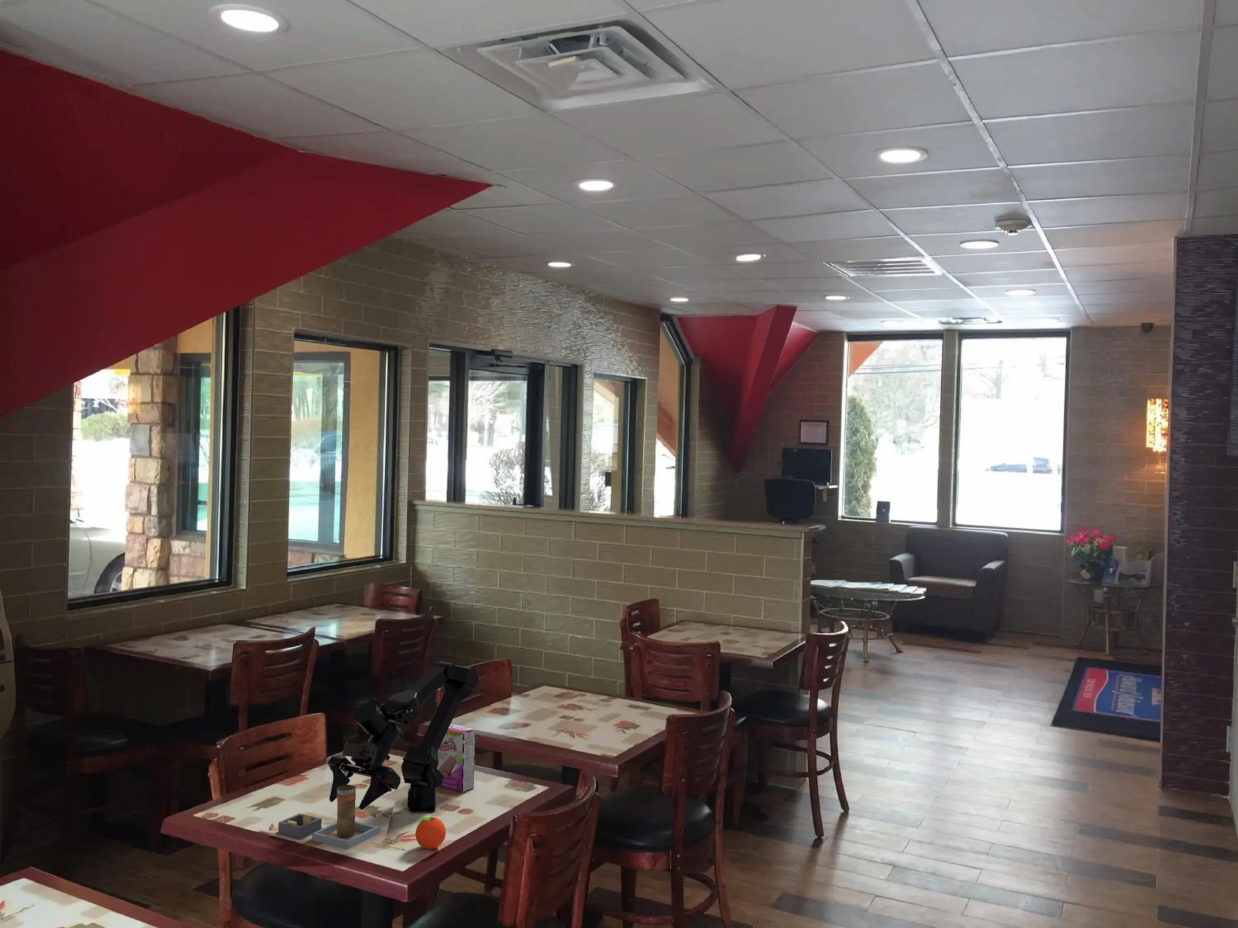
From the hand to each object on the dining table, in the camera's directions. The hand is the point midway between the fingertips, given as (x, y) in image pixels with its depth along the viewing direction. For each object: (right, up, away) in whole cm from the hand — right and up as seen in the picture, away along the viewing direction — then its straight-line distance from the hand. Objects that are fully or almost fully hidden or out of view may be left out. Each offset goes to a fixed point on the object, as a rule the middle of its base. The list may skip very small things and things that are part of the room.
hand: (345, 804), depth 232 cm
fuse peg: (0, -8, +1) cm, 8 cm away
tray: (0, -9, 0) cm, 9 cm away
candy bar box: (+18, -9, +41) cm, 46 cm away
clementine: (+19, -10, -1) cm, 22 cm away
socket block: (-11, -9, +3) cm, 15 cm away
